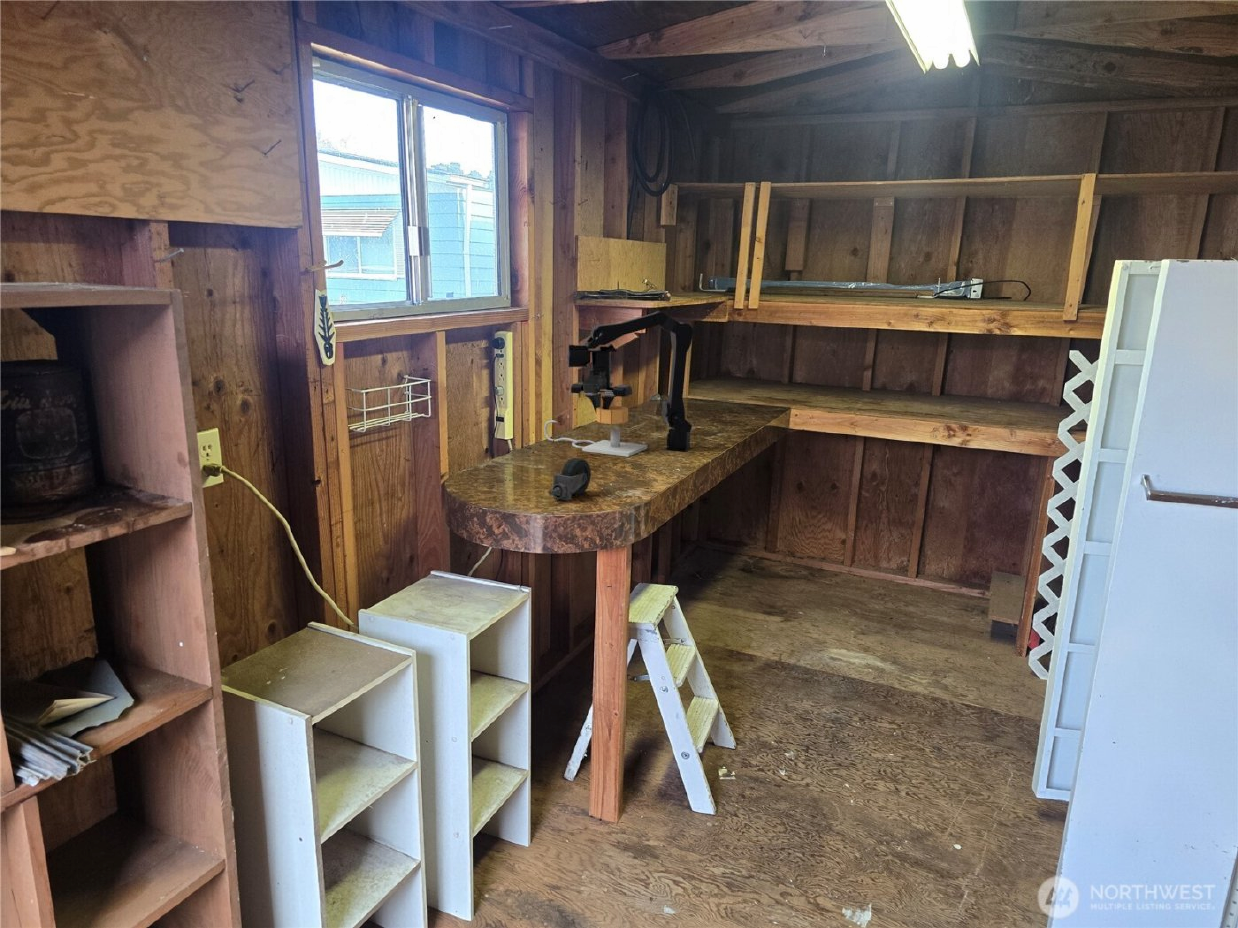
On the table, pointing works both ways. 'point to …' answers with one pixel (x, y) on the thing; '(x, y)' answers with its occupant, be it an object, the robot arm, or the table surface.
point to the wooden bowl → (612, 415)
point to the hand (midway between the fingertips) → (601, 417)
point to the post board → (615, 451)
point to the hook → (565, 438)
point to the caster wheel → (571, 479)
